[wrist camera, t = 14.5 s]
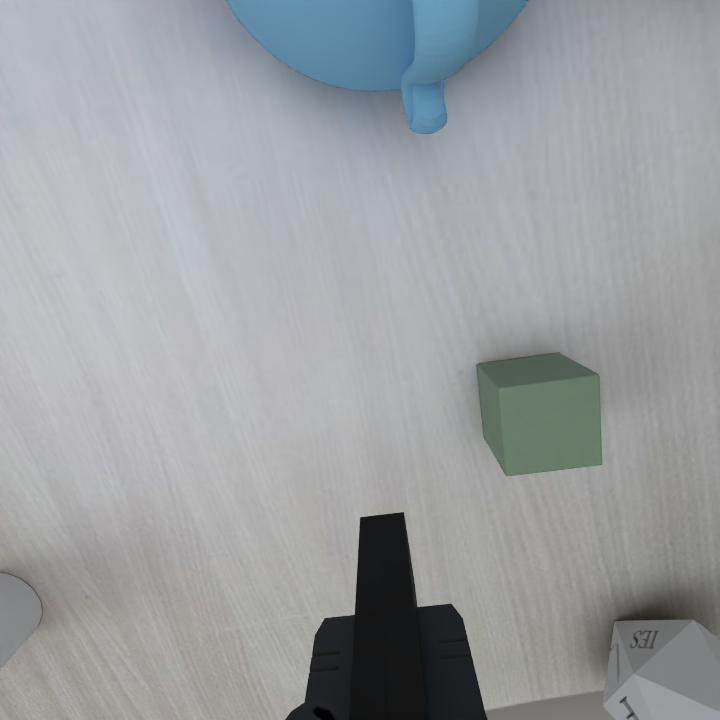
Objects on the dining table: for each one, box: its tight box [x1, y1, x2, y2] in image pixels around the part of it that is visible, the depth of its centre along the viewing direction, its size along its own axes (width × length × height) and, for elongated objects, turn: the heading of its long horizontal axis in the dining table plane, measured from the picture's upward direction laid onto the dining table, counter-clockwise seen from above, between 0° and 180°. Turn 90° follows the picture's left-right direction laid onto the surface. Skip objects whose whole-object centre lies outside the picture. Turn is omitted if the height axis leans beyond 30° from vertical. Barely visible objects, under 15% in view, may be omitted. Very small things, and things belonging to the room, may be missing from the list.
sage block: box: [477, 353, 602, 476], centre depth 25 cm, size 5×5×5 cm
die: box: [602, 619, 720, 720], centre depth 27 cm, size 8×9×10 cm
